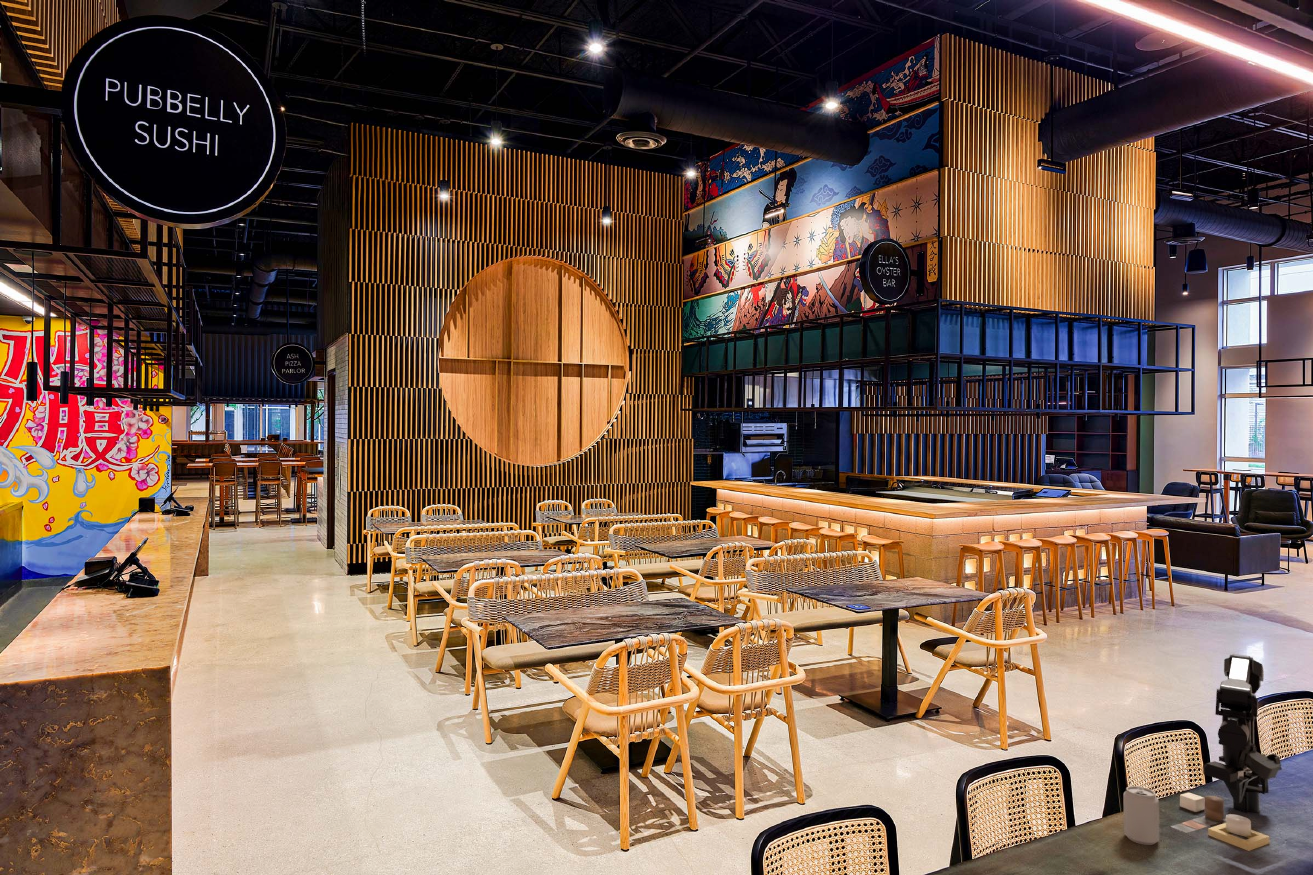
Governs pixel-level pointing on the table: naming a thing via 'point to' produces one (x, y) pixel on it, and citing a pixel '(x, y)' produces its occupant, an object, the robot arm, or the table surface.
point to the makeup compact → (1194, 824)
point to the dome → (1238, 825)
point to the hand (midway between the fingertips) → (1237, 801)
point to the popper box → (1248, 844)
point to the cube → (1192, 802)
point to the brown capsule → (1214, 808)
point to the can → (1141, 815)
